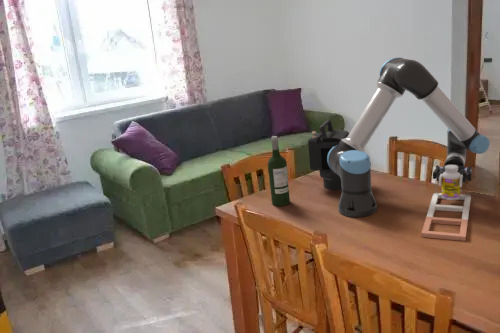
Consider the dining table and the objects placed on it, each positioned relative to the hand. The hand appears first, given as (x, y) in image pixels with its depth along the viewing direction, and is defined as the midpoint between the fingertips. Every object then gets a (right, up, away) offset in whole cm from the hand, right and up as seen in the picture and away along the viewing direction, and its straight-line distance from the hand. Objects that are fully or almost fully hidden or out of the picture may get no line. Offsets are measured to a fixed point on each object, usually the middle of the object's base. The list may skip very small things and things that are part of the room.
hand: (450, 183), depth 184 cm
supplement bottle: (+3, -6, +7) cm, 10 cm away
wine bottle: (-62, -10, +29) cm, 69 cm away
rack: (-2, -12, -3) cm, 13 cm away
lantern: (-37, -3, +42) cm, 56 cm away
